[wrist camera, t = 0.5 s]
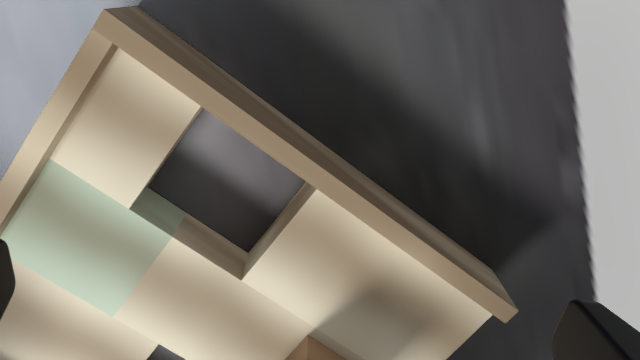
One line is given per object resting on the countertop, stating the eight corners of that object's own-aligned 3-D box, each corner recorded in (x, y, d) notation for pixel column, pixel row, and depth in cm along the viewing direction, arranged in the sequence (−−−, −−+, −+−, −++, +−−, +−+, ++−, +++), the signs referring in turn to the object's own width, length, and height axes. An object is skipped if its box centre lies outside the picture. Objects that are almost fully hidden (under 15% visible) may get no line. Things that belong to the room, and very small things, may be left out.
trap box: (275, 484, 30) (271, 545, 27) (-50, 308, 25) (-104, 355, 22) (491, 269, 25) (518, 311, 22) (136, 5, 21) (103, 8, 17)
